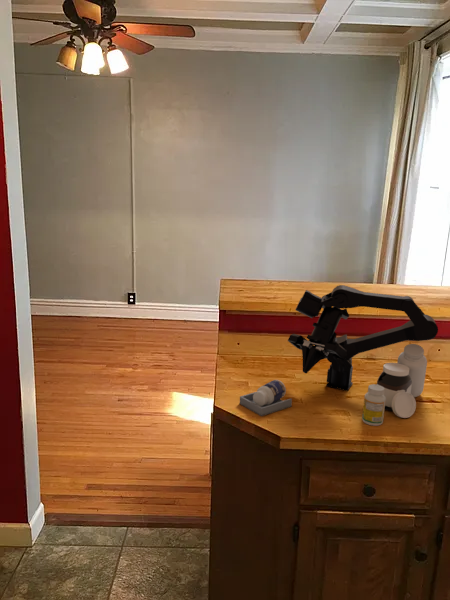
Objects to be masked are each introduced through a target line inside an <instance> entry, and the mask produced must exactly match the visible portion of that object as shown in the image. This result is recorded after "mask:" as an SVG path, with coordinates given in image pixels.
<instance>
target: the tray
mask: <svg viewBox="0 0 450 600" xmlns="http://www.w3.org/2000/svg"><path fill="white" fill-rule="evenodd" d="M256 392H257V391H254V392H251V393H247V394H244V395H240V396H239V405H241V406H243V407H244V408H246V409H248V410H250V411H251V412H253V413H254V414H257V415H258V416H259V417H264V416H267V415H269V414H272V413H276V412H279V411H282V410H286V409H288V408H291V407H292V403H293V398H288V399H284V400H283V399H282V398H281V399H279V400H277V401H276V402H274V403H272V404H270V405H267V406H265V405H263V406H258V405H257V404H255V403H254V401H253V395H254V393H256Z"/></svg>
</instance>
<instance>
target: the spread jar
mask: <svg viewBox="0 0 450 600" xmlns="http://www.w3.org/2000/svg"><path fill="white" fill-rule="evenodd" d="M408 374H409V367H407V366H405V365H403V364H399V363H397V362H386V363H384V364H383V368H382V372H381V373H380V375H379V376H378V378H377V381H376V385H380V386H382V387H384V394H383V395H384V396H385V398H386V402H385V410H386V411H389V412H393V413H394V414H395V416H397V417H398V418H404V419H406V418H410V417H412V416H413V415H414V414H415V412H416V408H417V402H416V397H413V395H411V387H412V380H411V377H410V376H409V375H408ZM385 410H384V411H385Z"/></svg>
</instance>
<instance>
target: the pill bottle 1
mask: <svg viewBox="0 0 450 600" xmlns="http://www.w3.org/2000/svg"><path fill="white" fill-rule="evenodd" d="M255 392H256V393H254V392H253V393H254V395H253V401H254V403H255V404H257V405H258V406H263V405H265V406H267V405H270V404H272V403H274V402H276V401H277V400H279V399H281V400H282V398H284V397H285V395H286V392H287V389H286V386H285V383H284V382H282V381H281V380H279V379H273V380H271V381H269V382H268V383H267V382H266V383H265V384H263V385H261V386H260V387H258V388H257V390H256V391H255Z"/></svg>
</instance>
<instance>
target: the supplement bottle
mask: <svg viewBox="0 0 450 600" xmlns="http://www.w3.org/2000/svg"><path fill="white" fill-rule="evenodd" d="M367 387H368V388H367V392H366V393H365V394H364V398H363V405H362V406H363V407H362V415H361V416H362V417H361V420H362V421H363V423H364V424H366V425H369V426H381V425H382V424H383V423H384V416H385V402H386V398H385V396H384V395H383V394H384V387H382V386H380V385H377V383H376V384H374V383H371V384H369V385H368V386H367Z"/></svg>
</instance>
